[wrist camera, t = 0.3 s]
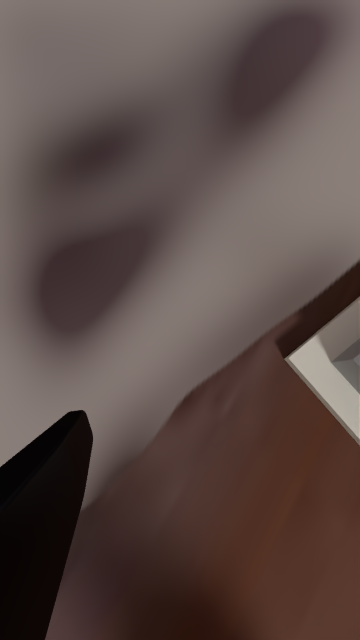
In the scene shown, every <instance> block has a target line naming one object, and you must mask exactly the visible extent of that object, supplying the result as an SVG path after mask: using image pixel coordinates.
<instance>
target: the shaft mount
mask: <svg viewBox="0 0 360 640" xmlns="http://www.w3.org/2000/svg"><path fill="white" fill-rule="evenodd" d="M284 360H285V361H286V362H287V363H288V364H289V365H290V366H291V368H292V369H293V370H294V371H295V372H296V373H297V374H298V376H299V377H300V378H301V379H302V380H303V381H304V382H305V384H306V385H307V386H308V387H309V388H310V389H311V390H312V392H313V393H314V394H315V395H316V396H317V397H318V398H319V400H320V401H321V402H322V403H323V404H324V405H325V407H326V408H327V409H328V410H329V411H330V412H331V413H332V415H333V416H334V417H335V418H336V419H337V420H338V421H339V423H340V424H341V425H342V426H343V427H344V428H345V429H346V431H347V432H348V433H349V434H350V435H351V436H352V437H353V439H354V440H355V441H356V442H357V443H358V444H359V445H360V297H358V298H357V299H356V300H355V301H353V302H352V303H351V304H350V305H349V306H347V307H346V308H345V309H344V310H343V311H341V312H340V313H339V314H338V315H337V316H335V317H334V318H333V319H332V320H331V321H329V322H328V323H327V324H326V325H324V326H323V327H322V328H321V329H320V330H318V331H317V332H316V333H315V334H314V335H312V336H311V337H310V338H309V339H308V340H306V341H305V342H304V343H303V344H302V345H300V346H299V347H298V348H297V349H296V350H294V351H293V352H292V353H291V354H289V355H288V356H287V357H286V358H285V359H284Z"/></svg>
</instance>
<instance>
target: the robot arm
mask: <svg viewBox="0 0 360 640" xmlns="http://www.w3.org/2000/svg"><path fill="white" fill-rule="evenodd" d="M92 444H93V434H92V430H91V427H90V424H89V421H88V418H87V415H86V413H85V411H83V410H78V411H71V412H68V413H67V414H65V415H64V416H63V417H62V418H61V419H59V420H58V421H57V422H56V423H54V424H53V425H52V426H51V427H50V428H48V429H47V430H46V431H44V432H43V433H42V434H41V435H39V436H38V437H37V438H36V439H35V440H33V441H32V442H31V443H30V444H28V445H27V446H26V447H25V448H24V449H22V450H21V451H20V452H18V453H17V454H16V455H15V456H13V457H12V458H11V459H10V460H8V461H7V462H6V463H5V464H3V465H2V466H1V467H0V640H45V637H46V634H47V630H48V626H49V623H50V619H51V615H52V612H53V608H54V604H55V601H56V597H57V593H58V590H59V586H60V582H61V579H62V575H63V571H64V568H65V564H66V560H67V557H68V553H69V549H70V546H71V542H72V538H73V535H74V531H75V528H76V524H77V520H78V517H79V513H80V509H81V506H82V501H83V497H84V492H85V487H86V481H87V475H88V468H89V462H90V456H91V450H92Z"/></svg>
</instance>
